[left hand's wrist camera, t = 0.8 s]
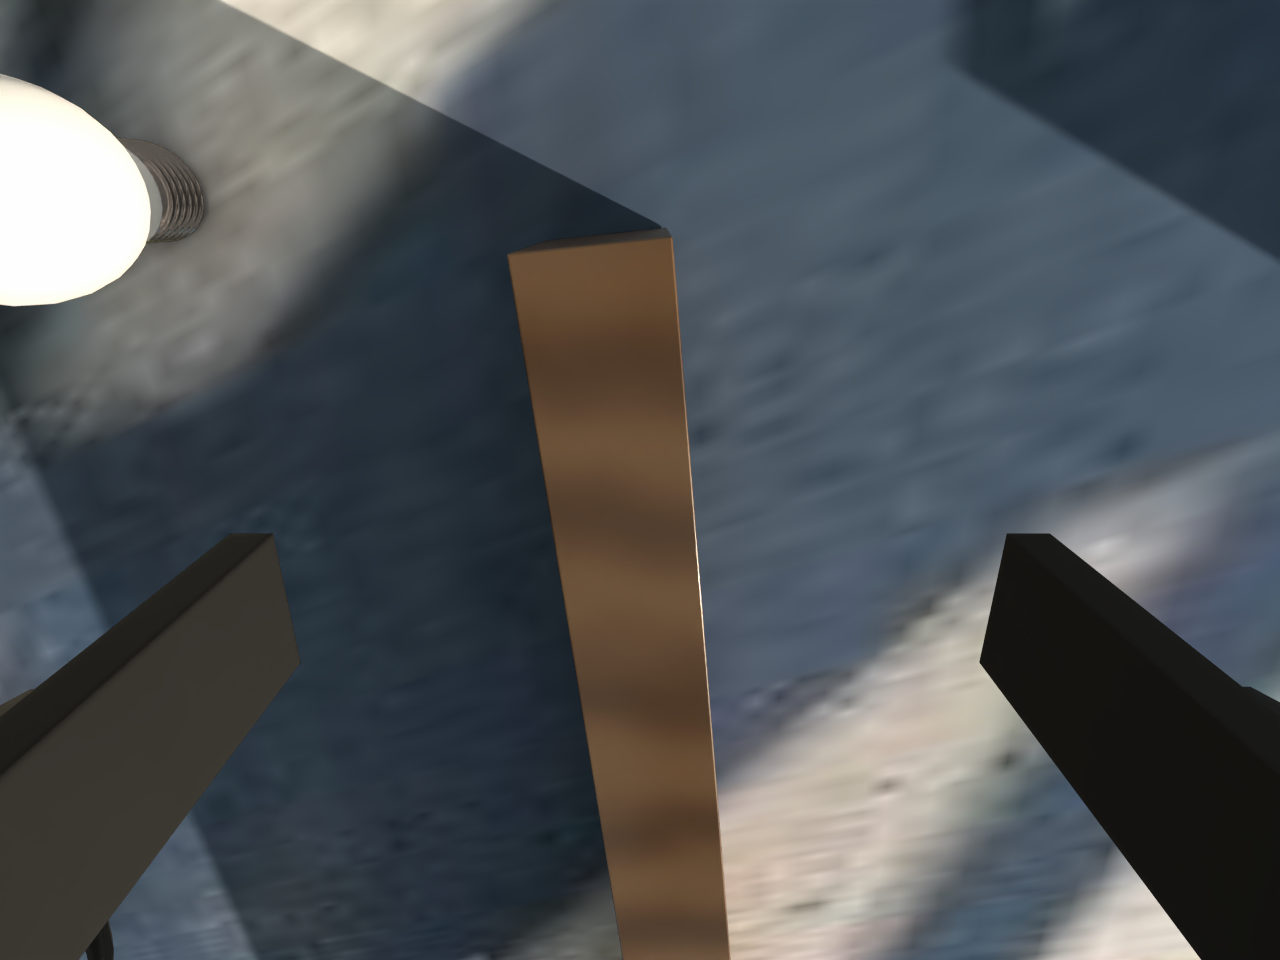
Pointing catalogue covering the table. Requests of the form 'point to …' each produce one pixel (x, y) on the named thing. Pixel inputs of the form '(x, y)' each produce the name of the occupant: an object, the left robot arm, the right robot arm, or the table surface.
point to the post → (629, 572)
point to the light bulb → (79, 198)
